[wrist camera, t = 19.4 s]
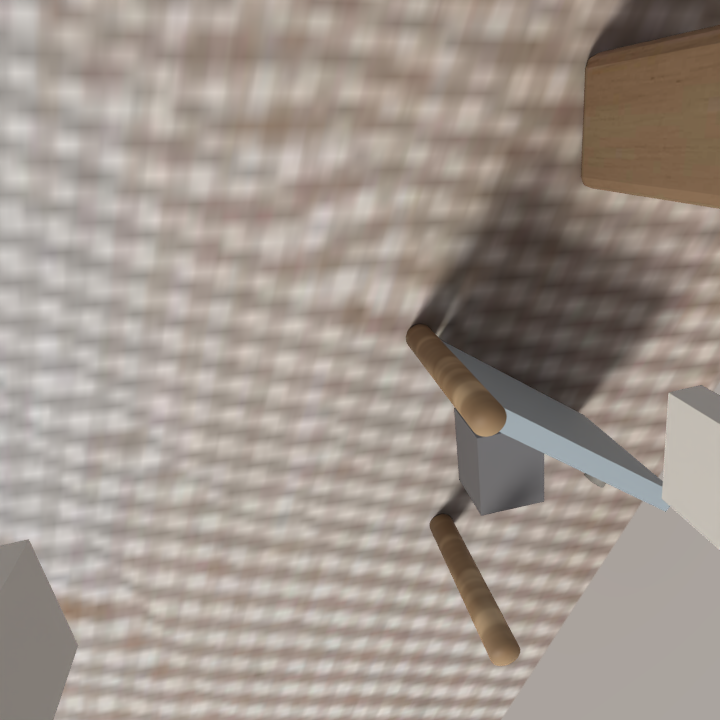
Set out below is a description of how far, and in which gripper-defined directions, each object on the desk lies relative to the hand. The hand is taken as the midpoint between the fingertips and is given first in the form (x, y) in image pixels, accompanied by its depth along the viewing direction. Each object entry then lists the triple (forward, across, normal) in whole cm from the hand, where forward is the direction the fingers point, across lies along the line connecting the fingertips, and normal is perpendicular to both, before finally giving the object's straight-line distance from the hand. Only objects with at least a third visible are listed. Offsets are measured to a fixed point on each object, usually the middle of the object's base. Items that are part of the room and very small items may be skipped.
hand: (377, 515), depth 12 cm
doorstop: (+37, +15, -23) cm, 46 cm away
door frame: (+37, +10, -21) cm, 44 cm away
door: (+36, +17, -18) cm, 44 cm away
